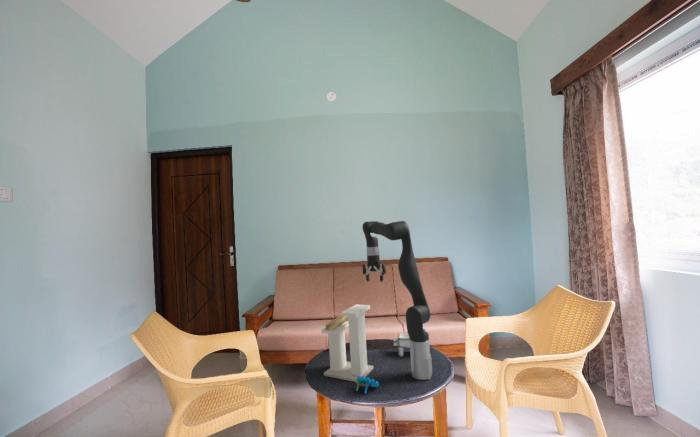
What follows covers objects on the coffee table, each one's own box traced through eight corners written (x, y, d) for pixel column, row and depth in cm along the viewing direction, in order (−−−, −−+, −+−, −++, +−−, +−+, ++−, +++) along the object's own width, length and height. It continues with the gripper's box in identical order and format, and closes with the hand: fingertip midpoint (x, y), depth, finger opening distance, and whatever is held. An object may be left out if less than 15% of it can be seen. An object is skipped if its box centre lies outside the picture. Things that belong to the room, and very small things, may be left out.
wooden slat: (353, 316, 172) (353, 311, 173) (331, 330, 150) (330, 324, 150) (349, 316, 174) (348, 310, 174) (325, 330, 152) (325, 324, 152)
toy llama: (395, 351, 177) (392, 316, 178) (426, 351, 173) (423, 316, 174) (394, 356, 169) (391, 320, 170) (426, 357, 166) (424, 320, 167)
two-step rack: (373, 368, 157) (369, 305, 158) (360, 382, 143) (356, 313, 144) (339, 362, 166) (336, 302, 167) (323, 375, 152) (320, 310, 153)
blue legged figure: (383, 384, 136) (372, 375, 131) (380, 399, 132) (369, 390, 127) (362, 382, 142) (351, 373, 137) (359, 396, 138) (347, 387, 133)
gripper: (359, 255, 185) (361, 282, 184) (381, 254, 178) (383, 282, 177) (365, 254, 191) (366, 280, 191) (386, 253, 185) (388, 280, 184)
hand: (374, 281), depth 184 cm, fingers open, 8 cm apart
